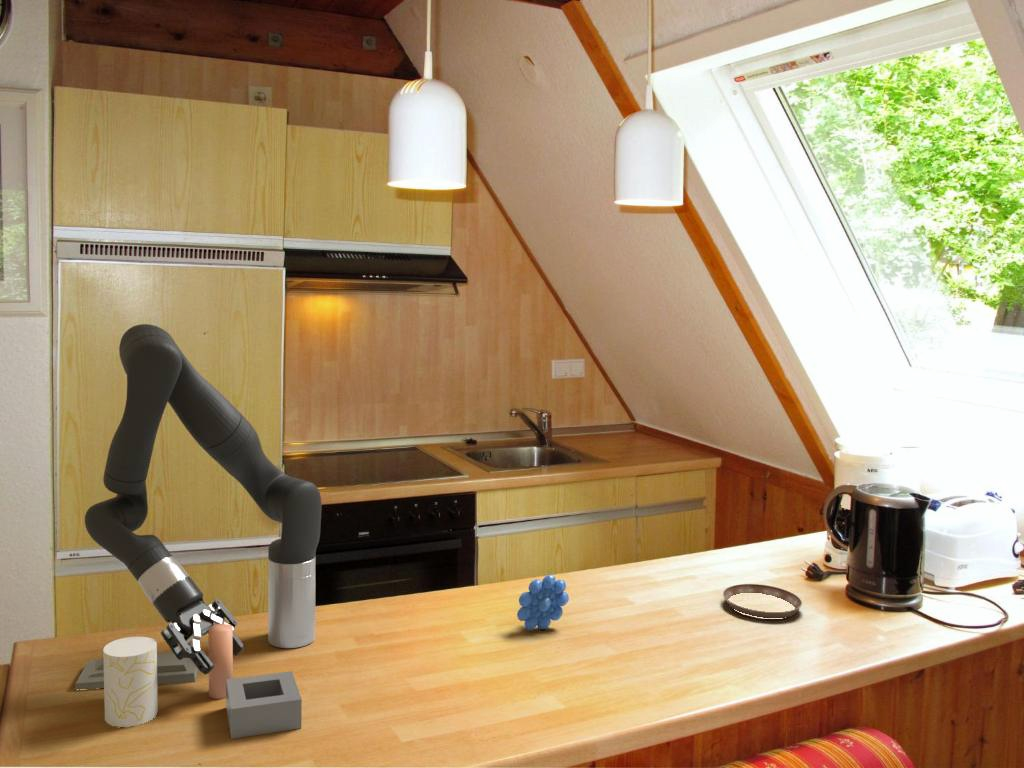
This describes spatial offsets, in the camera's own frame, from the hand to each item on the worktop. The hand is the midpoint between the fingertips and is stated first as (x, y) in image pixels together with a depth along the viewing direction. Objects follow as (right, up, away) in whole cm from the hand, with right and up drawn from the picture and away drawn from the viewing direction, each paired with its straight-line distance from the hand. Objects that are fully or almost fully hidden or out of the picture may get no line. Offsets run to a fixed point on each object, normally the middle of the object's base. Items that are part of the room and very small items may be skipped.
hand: (225, 661), depth 158 cm
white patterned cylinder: (-13, -7, -7) cm, 17 cm away
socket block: (+8, -7, -7) cm, 13 cm away
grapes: (+56, -4, +36) cm, 67 cm away
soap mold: (-18, -5, +8) cm, 20 cm away
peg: (-1, -6, +1) cm, 6 cm away
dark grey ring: (+108, -4, +52) cm, 120 cm away
